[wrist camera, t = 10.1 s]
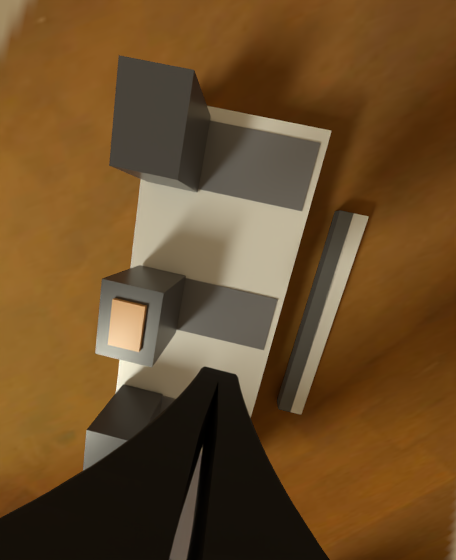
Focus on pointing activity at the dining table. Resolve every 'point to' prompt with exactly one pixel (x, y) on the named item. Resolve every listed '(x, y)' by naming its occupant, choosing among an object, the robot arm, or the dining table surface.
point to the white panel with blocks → (206, 233)
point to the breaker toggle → (138, 314)
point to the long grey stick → (321, 308)
